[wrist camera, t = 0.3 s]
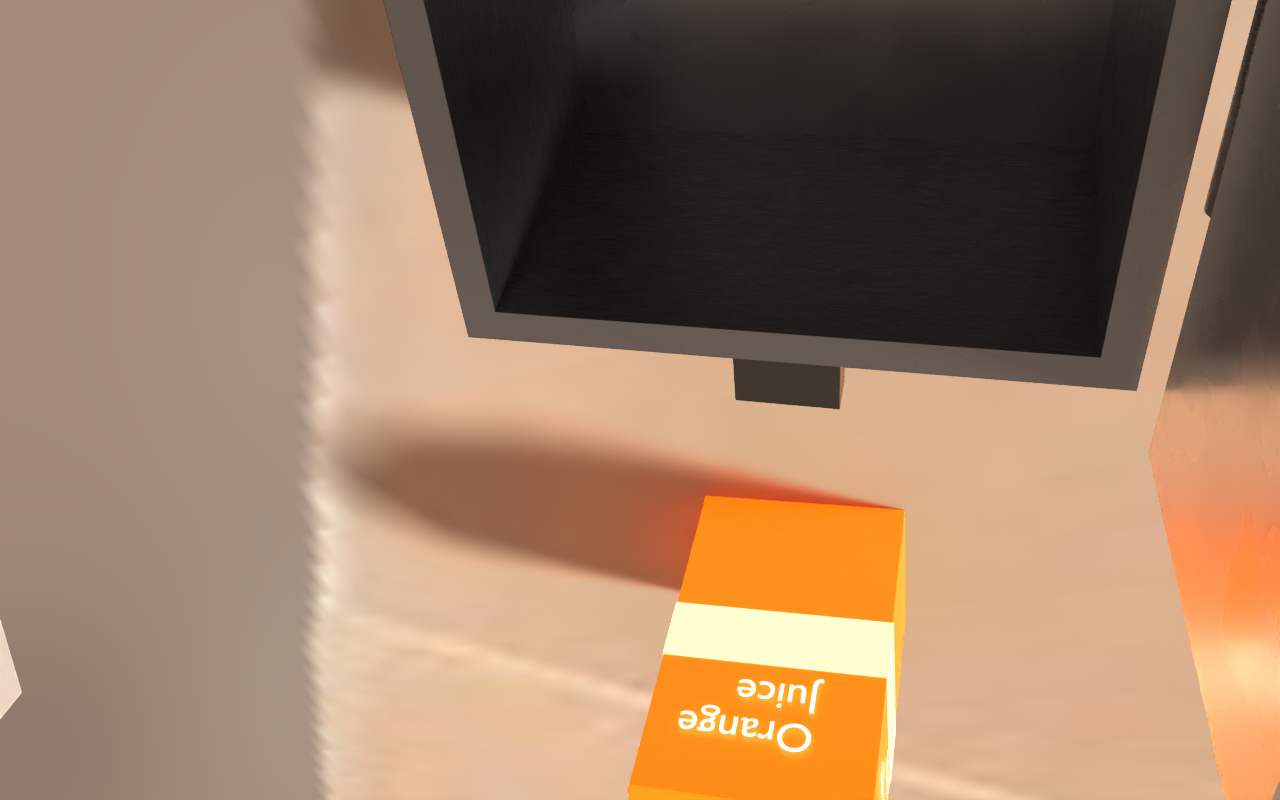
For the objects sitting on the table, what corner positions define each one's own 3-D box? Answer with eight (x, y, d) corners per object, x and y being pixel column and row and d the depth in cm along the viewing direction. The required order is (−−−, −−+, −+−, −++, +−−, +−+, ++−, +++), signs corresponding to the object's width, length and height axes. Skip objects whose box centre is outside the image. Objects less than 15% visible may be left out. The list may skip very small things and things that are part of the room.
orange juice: (907, 620, 56) (863, 1078, 42) (721, 602, 59) (622, 1030, 45) (906, 506, 51) (856, 985, 37) (703, 492, 54) (584, 937, 40)
